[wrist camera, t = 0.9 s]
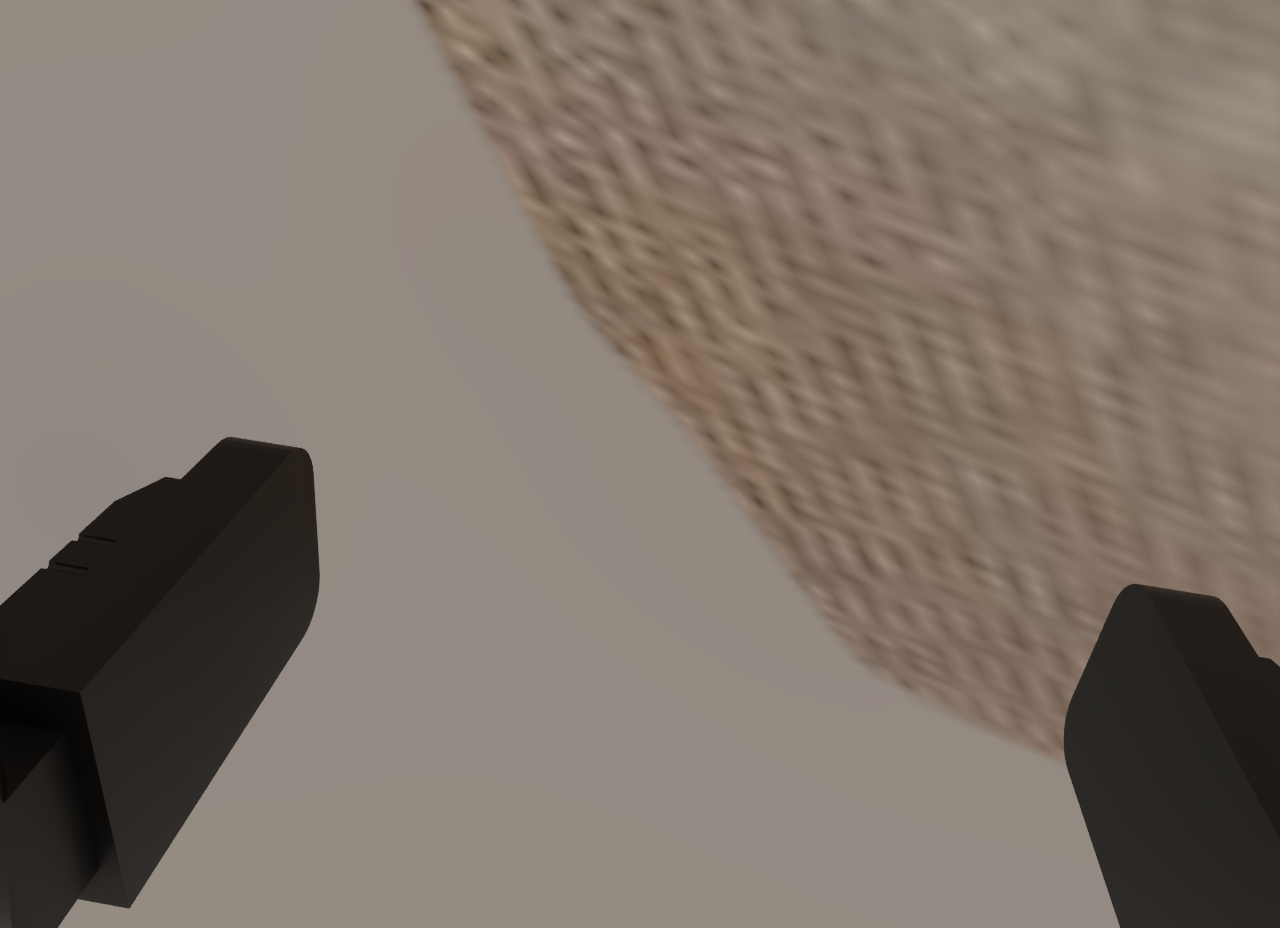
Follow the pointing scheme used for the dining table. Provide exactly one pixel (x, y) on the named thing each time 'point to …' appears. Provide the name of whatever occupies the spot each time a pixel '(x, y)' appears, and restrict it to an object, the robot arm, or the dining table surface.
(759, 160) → the dining table surface
